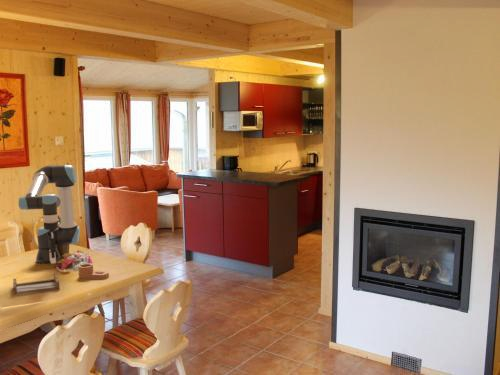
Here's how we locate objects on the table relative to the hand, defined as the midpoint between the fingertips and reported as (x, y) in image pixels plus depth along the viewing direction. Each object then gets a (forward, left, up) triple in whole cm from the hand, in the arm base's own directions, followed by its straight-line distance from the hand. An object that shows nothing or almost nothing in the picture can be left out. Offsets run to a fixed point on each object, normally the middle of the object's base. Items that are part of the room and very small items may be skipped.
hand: (52, 261), depth 283 cm
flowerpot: (-67, +9, -13) cm, 68 cm away
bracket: (-4, +23, -14) cm, 27 cm away
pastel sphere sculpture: (-33, +15, -14) cm, 39 cm away
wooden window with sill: (+3, -9, -13) cm, 16 cm away
